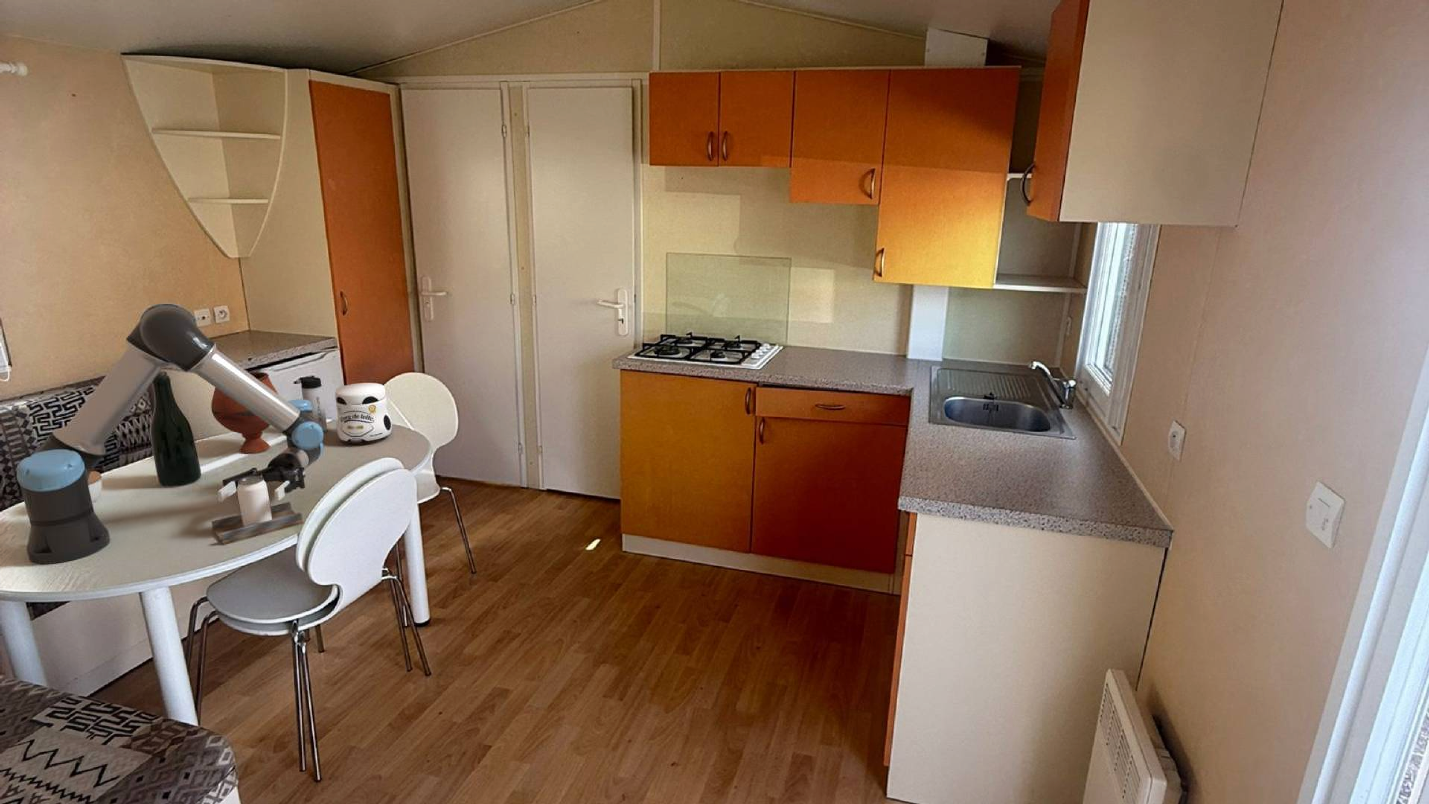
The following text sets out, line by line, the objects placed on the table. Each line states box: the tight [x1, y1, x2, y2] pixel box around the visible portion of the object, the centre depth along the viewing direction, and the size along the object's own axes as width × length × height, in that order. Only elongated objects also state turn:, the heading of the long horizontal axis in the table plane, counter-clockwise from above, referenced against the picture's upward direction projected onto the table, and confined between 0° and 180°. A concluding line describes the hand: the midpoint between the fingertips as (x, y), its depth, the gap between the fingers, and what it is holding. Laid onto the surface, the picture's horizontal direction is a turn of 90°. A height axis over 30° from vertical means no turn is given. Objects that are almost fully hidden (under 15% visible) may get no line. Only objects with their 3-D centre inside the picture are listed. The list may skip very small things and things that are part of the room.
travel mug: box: [298, 376, 329, 435], centre depth 262 cm, size 6×7×20 cm
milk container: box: [334, 382, 393, 444], centre depth 256 cm, size 17×17×18 cm
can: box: [236, 476, 272, 527], centre depth 192 cm, size 6×6×12 cm
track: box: [211, 501, 304, 546], centre depth 193 cm, size 18×11×3 cm, turn 135°
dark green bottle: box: [149, 370, 202, 487], centre depth 216 cm, size 10×10×33 cm
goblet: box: [210, 371, 279, 455], centre depth 243 cm, size 19×19×25 cm
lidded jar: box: [88, 470, 103, 505], centre depth 203 cm, size 11×11×9 cm
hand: (248, 496), depth 189 cm, fingers open, 13 cm apart
